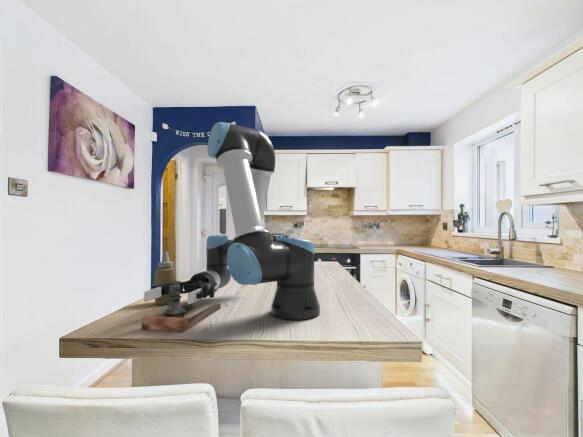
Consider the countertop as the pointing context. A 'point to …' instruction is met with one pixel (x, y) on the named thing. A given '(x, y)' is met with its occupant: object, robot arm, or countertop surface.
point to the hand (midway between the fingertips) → (166, 297)
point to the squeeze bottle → (164, 277)
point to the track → (177, 320)
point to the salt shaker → (174, 302)
